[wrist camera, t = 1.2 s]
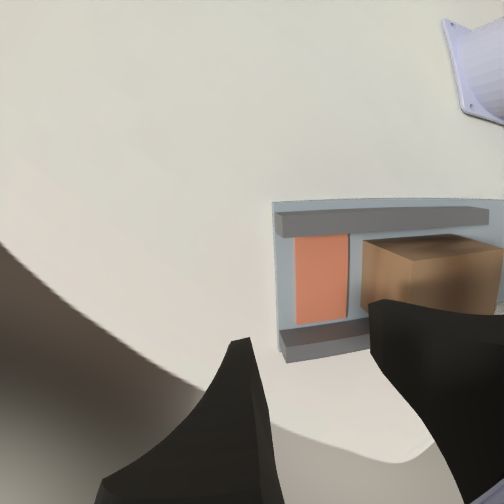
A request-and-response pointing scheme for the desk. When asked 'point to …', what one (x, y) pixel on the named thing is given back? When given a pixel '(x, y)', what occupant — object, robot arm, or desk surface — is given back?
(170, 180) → the desk surface
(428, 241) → the walnut block
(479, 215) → the trough
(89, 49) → the desk surface
